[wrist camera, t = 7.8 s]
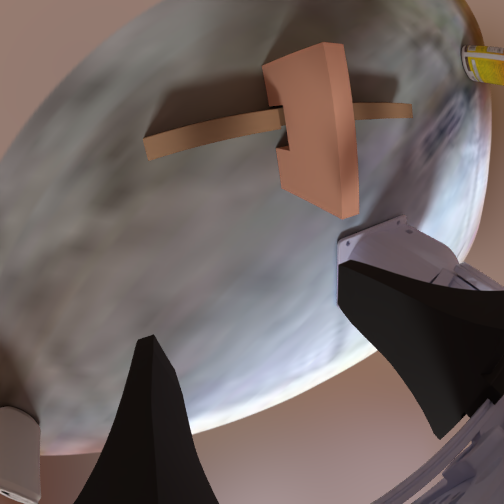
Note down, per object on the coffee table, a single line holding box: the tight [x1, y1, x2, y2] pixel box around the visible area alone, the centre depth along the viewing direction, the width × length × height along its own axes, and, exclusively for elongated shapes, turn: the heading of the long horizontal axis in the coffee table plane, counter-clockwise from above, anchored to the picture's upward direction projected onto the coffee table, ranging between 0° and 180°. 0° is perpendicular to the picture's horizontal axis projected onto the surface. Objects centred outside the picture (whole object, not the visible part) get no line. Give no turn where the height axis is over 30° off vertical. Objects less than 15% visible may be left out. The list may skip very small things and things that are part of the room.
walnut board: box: [143, 102, 413, 161], centre depth 16 cm, size 20×1×3 cm, turn 99°
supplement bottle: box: [461, 45, 504, 86], centre depth 16 cm, size 6×6×10 cm
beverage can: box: [0, 406, 41, 504], centre depth 14 cm, size 6×6×12 cm
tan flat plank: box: [262, 42, 359, 219], centre depth 14 cm, size 9×1×7 cm, turn 9°
